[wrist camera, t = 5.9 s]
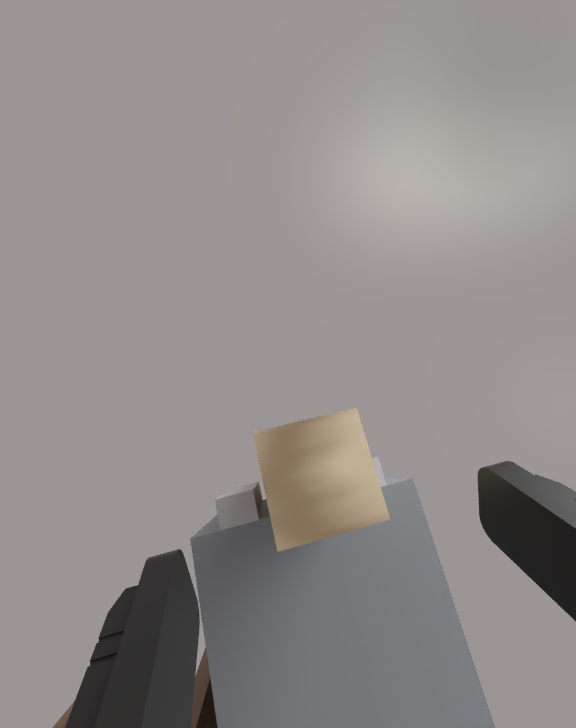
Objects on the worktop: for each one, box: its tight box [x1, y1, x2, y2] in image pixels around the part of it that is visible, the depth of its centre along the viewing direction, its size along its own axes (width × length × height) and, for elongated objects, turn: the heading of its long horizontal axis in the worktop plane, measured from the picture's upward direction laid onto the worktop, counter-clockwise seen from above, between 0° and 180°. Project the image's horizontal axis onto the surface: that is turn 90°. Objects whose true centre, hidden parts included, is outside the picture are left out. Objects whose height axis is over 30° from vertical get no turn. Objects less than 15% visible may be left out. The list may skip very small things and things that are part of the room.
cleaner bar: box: [253, 408, 390, 552], centre depth 23 cm, size 4×26×4 cm, turn 3°
